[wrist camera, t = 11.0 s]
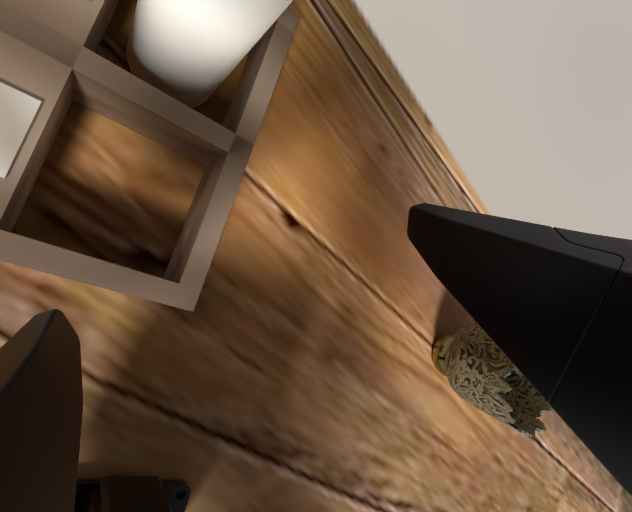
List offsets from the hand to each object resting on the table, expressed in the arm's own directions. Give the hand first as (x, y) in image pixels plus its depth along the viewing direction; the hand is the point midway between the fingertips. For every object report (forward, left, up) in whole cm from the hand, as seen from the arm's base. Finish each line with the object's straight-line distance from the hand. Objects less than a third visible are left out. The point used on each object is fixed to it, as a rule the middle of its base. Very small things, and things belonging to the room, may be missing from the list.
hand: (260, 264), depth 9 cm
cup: (0, -24, -12) cm, 27 cm away
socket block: (+6, +3, -11) cm, 13 cm away
